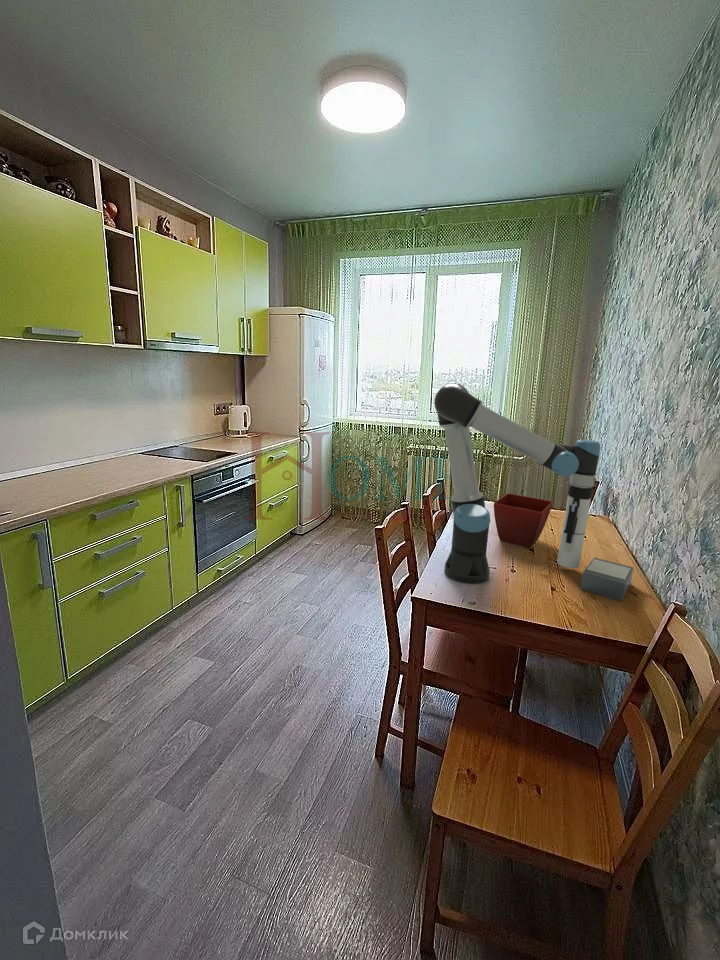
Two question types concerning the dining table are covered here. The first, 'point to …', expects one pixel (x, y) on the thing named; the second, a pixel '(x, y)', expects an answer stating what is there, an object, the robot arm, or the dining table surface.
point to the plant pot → (520, 518)
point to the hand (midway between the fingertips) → (570, 548)
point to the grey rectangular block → (607, 579)
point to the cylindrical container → (574, 558)
